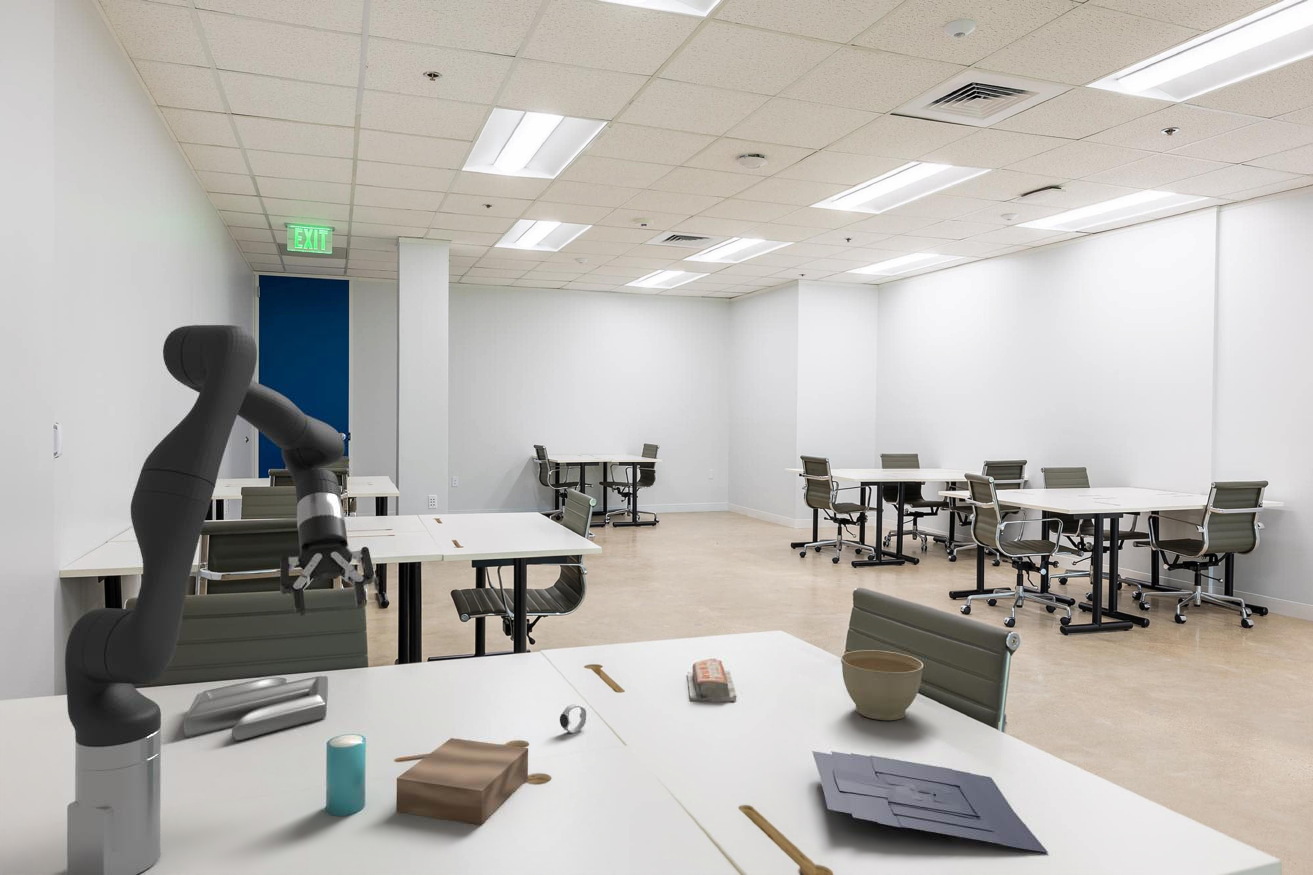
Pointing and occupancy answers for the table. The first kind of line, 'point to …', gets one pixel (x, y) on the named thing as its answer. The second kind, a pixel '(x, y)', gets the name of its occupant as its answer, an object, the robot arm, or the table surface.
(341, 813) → the tumbler
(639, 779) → the table surface
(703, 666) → the packaged product
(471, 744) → the wooden square base
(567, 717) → the wristwatch
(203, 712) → the emblem
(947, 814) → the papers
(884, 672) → the planter bowl
